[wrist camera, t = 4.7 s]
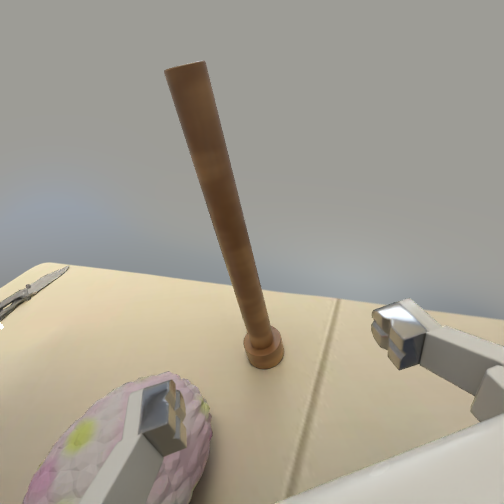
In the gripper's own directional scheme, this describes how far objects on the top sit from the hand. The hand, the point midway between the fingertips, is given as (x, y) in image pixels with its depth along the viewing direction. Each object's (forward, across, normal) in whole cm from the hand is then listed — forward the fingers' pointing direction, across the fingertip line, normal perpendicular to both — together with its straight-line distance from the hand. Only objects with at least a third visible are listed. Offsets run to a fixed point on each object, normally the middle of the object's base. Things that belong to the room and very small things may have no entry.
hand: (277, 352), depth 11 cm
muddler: (+11, 0, +14) cm, 18 cm away
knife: (+34, +33, +14) cm, 49 cm away
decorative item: (+3, +11, +14) cm, 18 cm away
